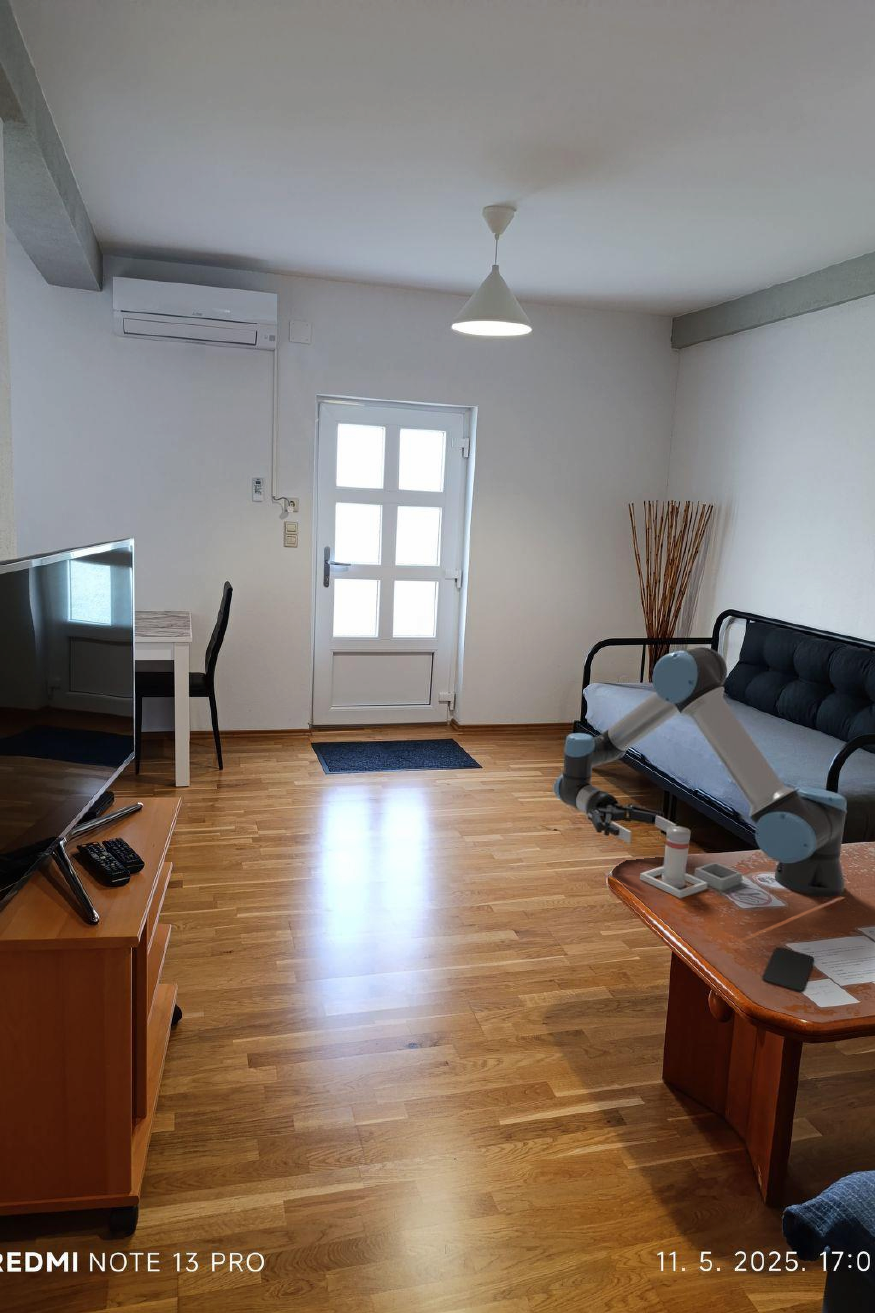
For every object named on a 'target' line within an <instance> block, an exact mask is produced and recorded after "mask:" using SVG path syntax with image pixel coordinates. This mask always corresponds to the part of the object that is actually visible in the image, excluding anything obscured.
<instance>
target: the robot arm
mask: <svg viewBox="0 0 875 1313" xmlns="http://www.w3.org/2000/svg"><path fill="white" fill-rule="evenodd" d="M727 666H728V665H727V664H726V661H725V659H724V657H723V656H722V655H721V654H720V653H719V652H717V651H716V650H714V649H712V648H709V647H702V646H701V647H694V648H690V649H684V650H675V651H672V652H670V653H667V654H665V655H663V656H662V657H660V658H659V660H658V661H657V662H656V664H655V666H654V667H653V672H652V677H651V680H652V681H651V682H652V686H653V690H654V691H655V692H654V693H652V694H651V695H650V696H649V697H648V698H646V699H645V700H643V702H641V703H640V704H638V705H637V706H636V707H635V708H633V709H632V710H631V711H629V712H628V713H627V714H626V715H624V716H623V717H622V718H620V719H619V720H618V721H617V722H614V724H612V725H611V726H610V727H609V728H607V729H606V730H605V731H604V732H602V733H601V734H599V735H598V736H594V737H593V736H592V735H590V734H587V733H582V732H575V733H570V734H568V735H567V736H566V739H565V744H564V750H563V751H564V753H563V754H564V755H563V769H562V770H563V772H562V773H561V775H559V776H558V777H557V778H556V781H555V783H554V784H553V785H554V786H553V792H554V795H555V796H556V798H557V799H558V800H560V801H561V802H563V803H564V804H565V805H568V806H571V807H572V808H575V809H576V810H578V811H579V812H582V813H583V814H585V815H586V816H587V820H589V821H591V823H592V825H593V827H594V828H595V831H596V833H598V834H601V833H602V832H604V833H603V835H604V836H606V837H608V836H610V834H611V835H614V837H617V838H618V839H620V840H622V841H623V842H625V843H628V844H629V843H631V839H632V831H631V830H629V829H627V828H625V827H623V826H622V825H620V824H619V823H617V822H618V821H622V822H623V821H625V822H628V823H629V822H631V821H634V822H640V823H646V824H651V825H654V827H656V828H658V829H659V830H661V831H664V832H665V833H667V828H668V827H670V826H677V824H676V823H674V822H672V821H670V820H669V819H666V818H665V812H663V811H659V810H655V809H652V808H647V807H643V806H640V805H636V804H634V803H632V802H631V803H630V802H629V803H628V805H627V806H626V805H623V804H620V803H619V802H618V800H617V799H616V796H614V795H613V794H611V793H608V792H606V791H605V790H603V789H601V788H599V787H597V786H594V785H593V784H592V782H591V781H592V775H593V768H594V767H597V766H600V765H603V764H608V763H610V762H615V761H617V760H619V759H622V757H624V756H625V754H626V752H627V751H628V750H629V749H630V748H631V747H633V746H634V745H636V744H637V743H639V742H640V741H642V739H644V738H645V737H647V736H648V735H649V734H650V733H652V732H653V731H655V730H656V729H658V728H659V727H660V726H662V725H663V724H665V723H666V722H667V721H669V720H670V719H671V718H672V717H674V716H675V715H676V714H678V713H679V714H680V715H681V716H684V717H687V718H688V717H689V718H690V719H691V720H692V721H693V722H694V724H695V725H696V727H697V729H698V730H699V732H701V734H702V736H703V737H704V739H705V740H706V742H707V743H708V745H709V746H710V748H711V749H712V751H713V752H714V754H715V755H716V756H717V758H718V759H719V761H720V762H721V764H722V765H723V767H724V768H725V770H726V772H727V773H728V774H729V776H730V777H731V779H732V780H733V782H734V783H735V785H736V786H737V788H738V789H739V791H740V792H741V794H742V795H743V797H744V798H745V800H746V801H747V803H748V804H749V805H750V811H749V816H748V817H749V818H750V819H751V821H752V822H753V823H754V825H755V833H754V837H755V841H756V843H757V845H758V847H759V849H760V850H761V851H762V852H763V853H764V854H765V856H767V857H768V858H770V859H772V860H773V861H775V862H778V864H777V865H776V868H775V871H774V879H775V881H776V882H777V883H778V884H779V885H780V886H781V887H784V888H785V889H788V890H790V891H792V892H795V893H797V894H802V895H806V896H809V897H818V898H833V897H837V896H840V895H842V894H844V891H845V890H844V889H845V879H844V872H843V870H842V865H841V860H840V857H841V852H842V851H841V849H842V843H843V838H844V837H843V836H844V828H845V821H846V815H847V813H848V811H847V804H848V802H847V799H846V798H845V796H843V795H841V794H839V793H837V792H834V791H829V790H826V789H822V788H816V787H811V786H796V787H795V788H792V787H789V786H786V785H784V783H783V782H782V780H781V778H779V776H778V775H777V774H776V772H775V770H774V769H773V768H772V767H771V766H772V765H770V763H769V762H768V760H767V759H766V758H765V757H764V755H763V753H762V752H761V750H760V749H759V748H758V746H757V745H756V744H755V742H754V740H753V739H752V737H751V736H750V735H749V733H748V731H747V730H746V729H745V727H744V726H743V725H742V723H741V722H740V720H739V719H738V717H737V716H736V715H735V713H734V712H733V710H732V709H731V707H730V705H729V704H728V703H727V701H726V699H724V693H725V687H724V686H723V685H724V684H725V681H726V680H727V677H728V668H727ZM627 815H628V817H627Z"/></svg>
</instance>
